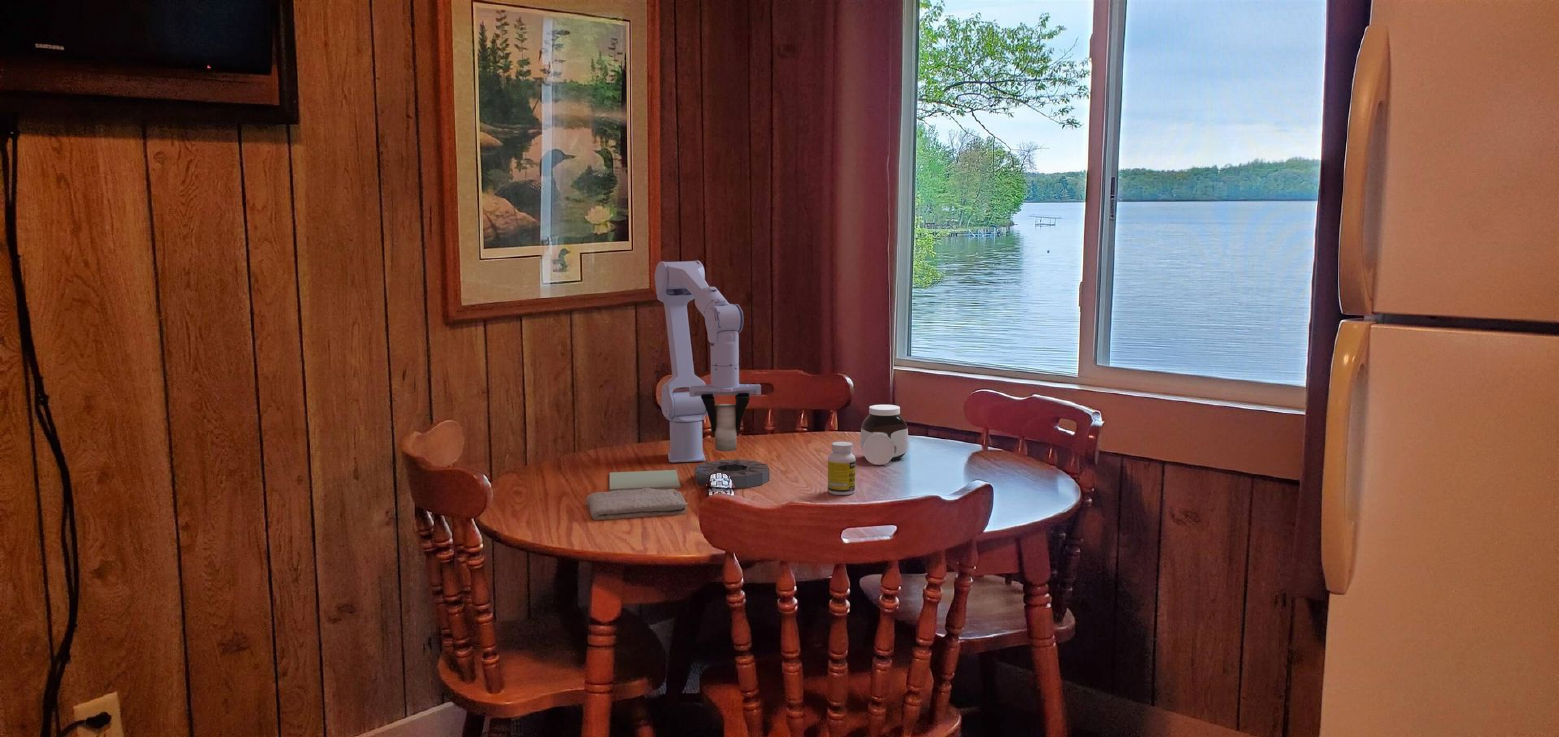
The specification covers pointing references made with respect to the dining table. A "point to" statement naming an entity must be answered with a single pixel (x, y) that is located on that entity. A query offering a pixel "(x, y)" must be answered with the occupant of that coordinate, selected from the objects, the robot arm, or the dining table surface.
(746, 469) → the iron collar
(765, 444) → the dining table surface
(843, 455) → the supplement bottle
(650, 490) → the washcloth
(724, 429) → the peg
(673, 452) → the robot arm
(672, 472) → the pad
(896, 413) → the spread jar
